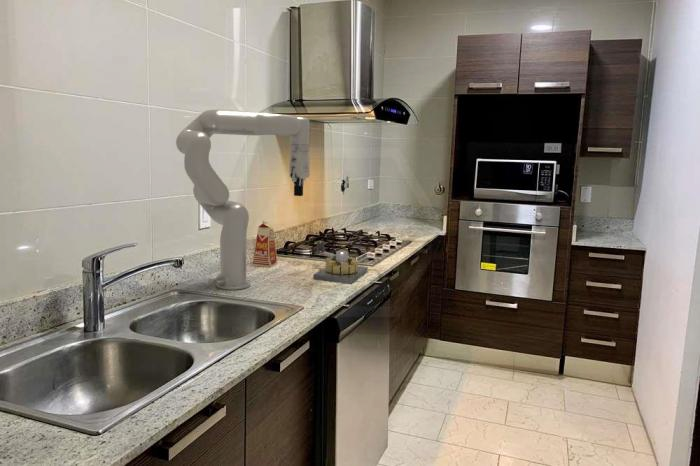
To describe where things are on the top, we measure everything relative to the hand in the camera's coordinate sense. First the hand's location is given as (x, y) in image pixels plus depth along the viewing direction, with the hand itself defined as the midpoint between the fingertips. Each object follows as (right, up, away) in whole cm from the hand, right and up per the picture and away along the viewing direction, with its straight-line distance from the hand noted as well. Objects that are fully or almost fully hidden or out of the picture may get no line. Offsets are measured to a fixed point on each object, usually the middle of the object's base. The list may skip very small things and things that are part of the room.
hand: (298, 195), depth 207 cm
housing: (+17, -33, +9) cm, 38 cm away
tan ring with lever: (+14, -30, +12) cm, 35 cm away
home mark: (+8, -31, +18) cm, 37 cm away
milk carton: (-17, -29, +23) cm, 41 cm away
